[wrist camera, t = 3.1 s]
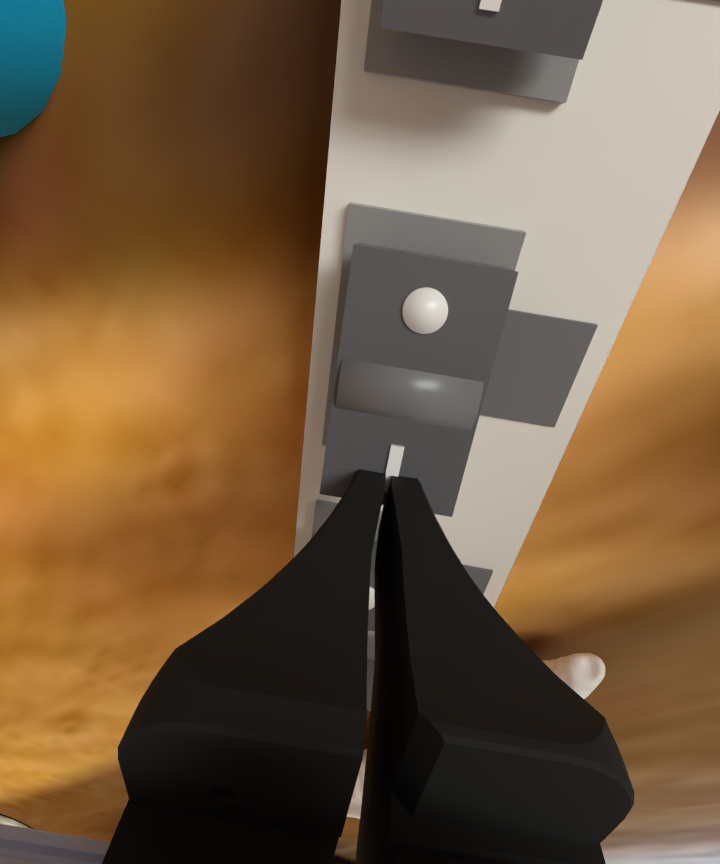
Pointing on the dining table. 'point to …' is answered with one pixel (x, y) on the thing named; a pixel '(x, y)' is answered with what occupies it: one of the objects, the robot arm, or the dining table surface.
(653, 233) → the power strip
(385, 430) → the rocker dark gray
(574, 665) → the white corn cob
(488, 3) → the dark grey block
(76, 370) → the dining table surface
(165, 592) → the dining table surface
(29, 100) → the mug
